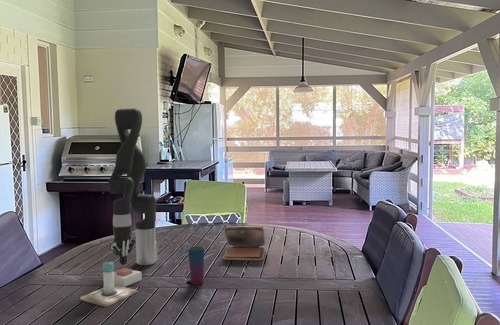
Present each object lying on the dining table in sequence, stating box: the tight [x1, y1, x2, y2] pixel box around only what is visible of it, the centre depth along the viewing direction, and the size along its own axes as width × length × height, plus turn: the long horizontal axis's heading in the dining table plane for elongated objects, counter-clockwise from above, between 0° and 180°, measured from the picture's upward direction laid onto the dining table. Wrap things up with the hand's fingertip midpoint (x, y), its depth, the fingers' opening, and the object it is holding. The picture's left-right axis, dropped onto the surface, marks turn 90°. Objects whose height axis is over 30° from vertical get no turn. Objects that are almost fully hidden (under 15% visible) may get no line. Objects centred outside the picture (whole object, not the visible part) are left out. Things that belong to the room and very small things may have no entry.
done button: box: [116, 267, 133, 276], centre depth 196 cm, size 4×4×3 cm
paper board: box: [79, 285, 138, 308], centre depth 179 cm, size 16×14×1 cm
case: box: [222, 225, 266, 262], centre depth 232 cm, size 20×21×16 cm
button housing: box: [114, 269, 143, 288], centre depth 196 cm, size 10×10×4 cm
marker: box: [102, 261, 115, 295], centre depth 179 cm, size 4×4×12 cm
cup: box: [187, 245, 205, 285], centre depth 193 cm, size 7×7×15 cm
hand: (123, 264), depth 195 cm, fingers closed
